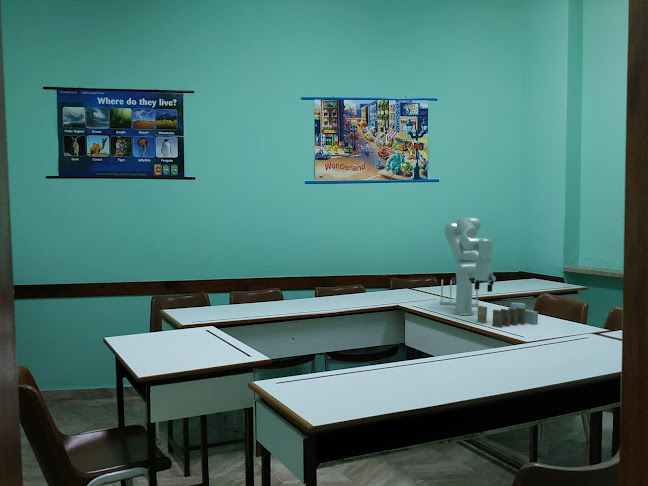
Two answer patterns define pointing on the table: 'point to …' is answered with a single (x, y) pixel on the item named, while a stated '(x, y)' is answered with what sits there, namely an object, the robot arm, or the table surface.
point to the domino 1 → (482, 314)
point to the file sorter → (453, 301)
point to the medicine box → (518, 305)
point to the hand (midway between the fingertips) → (483, 290)
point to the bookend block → (531, 317)
